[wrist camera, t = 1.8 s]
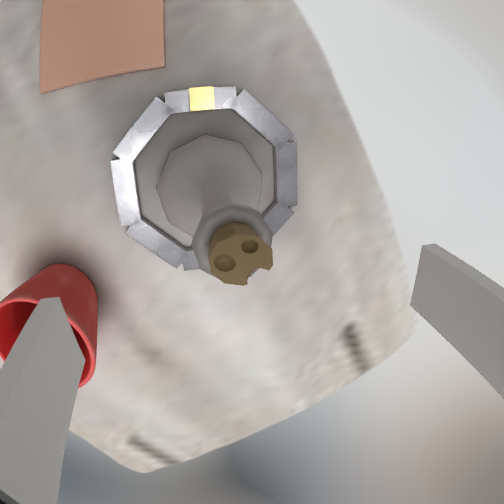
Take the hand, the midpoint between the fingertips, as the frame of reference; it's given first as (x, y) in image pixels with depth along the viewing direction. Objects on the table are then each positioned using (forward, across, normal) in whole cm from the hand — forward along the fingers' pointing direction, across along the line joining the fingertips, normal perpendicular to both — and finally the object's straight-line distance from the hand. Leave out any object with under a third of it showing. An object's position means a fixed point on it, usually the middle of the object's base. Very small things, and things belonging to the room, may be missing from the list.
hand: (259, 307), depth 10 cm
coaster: (+20, -9, +18) cm, 28 cm away
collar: (+21, 0, 0) cm, 21 cm away
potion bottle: (+21, 0, 0) cm, 21 cm away
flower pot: (+21, -17, -10) cm, 29 cm away
